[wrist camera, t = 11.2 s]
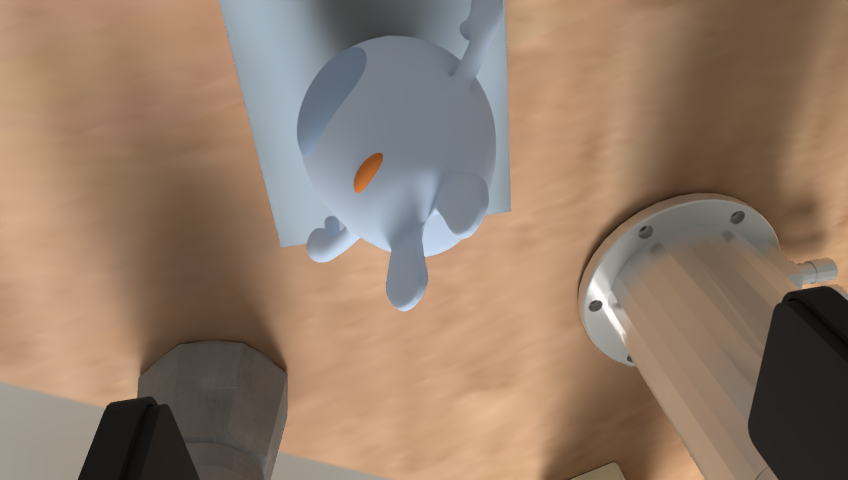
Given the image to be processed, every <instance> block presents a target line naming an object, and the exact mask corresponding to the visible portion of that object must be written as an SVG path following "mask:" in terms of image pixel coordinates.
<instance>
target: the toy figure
mask: <svg viewBox="0 0 848 480" xmlns="http://www.w3.org/2000/svg"><path fill="white" fill-rule="evenodd" d="M502 16H503V0H472V2H471V10H470V13H469V16H468V18H467V20H465V21H463V22H462V23H461V24H460V27H459V30H460V33H461V35H462V36H463V37H464V38H465V39H467V40H469V44H468V47H467V49H466V51H465V54H464V56H463V58H462V60H460V59H458V58H457V57H456V56H455V55H453V54H452V53H450V52H449V51H447V50H446V49H444V48H442V47H440V46H438V45H436V44H434V43H431V42H429V41H426V40H422V39H418V38H414V37H407V36H391V35H389V36H383V37H379V38H374V39H370V40H367V41H364V42H361V43H359V44H356V45H354V46H352V47H350V48H348V49H346V50H344V51H341V52H340V53H338V54H337V55H335V56H334V57H333V58H332V59H330V60H329V61H328V62H327V63H326V64H325V65H324V66H323V67H322V69H321V70H320V71H319V72H318V74H317V75H316V77H315V78H314V79H313V81H312V83H311V84H310V86H309V88H308V90H307V92H306V94H305V96H304V99H303V102H302V105H301V107H300V111H299V116H298V121H297V141H298V146H299V149H300V151H301V154H302V159H303V162H304V166H305V169H306V171H307V174H308V176H309V179H310V181H311V183H312V185H313V186H314V188H315V190H316V192H317V193H318V195H319V196H320V198H321V199H322V201H323V202H324V203H325V204H326V206H327V207H328V208H329V209H330V211H331V212H332V213H333V214H334V215H335V216H336V217H337V218H338V219H339V220H340V221H341V222H342V223H343V224H344V225H345V227H344V228H343V229H342V230H341V231H340V226H339V220H338V219H337V218H336V217H334V216H329V217H327V218H326V219H325V221H324V224H325V229H324V228H317V229H315V230H313V231H312V232H311V234H310V235H309V237H308V240H307V251H308V254H309V256H310V257H311V258H312V259H313V260H314V261H316V262H328V261H330V260H332V259H334V258H335V257H337V256H338V255H340V254H341V253H343V252H344V251H345V250H347V249H348V248H349V247H350V246H352V245H353V244H354V243H355V242H356V241H357V240H358V239H359V238H363V239H364V240H366V241H368V242H369V243H371V244H373V245H375V246H377V247H379V248H381V249H383V250H386V251H388V252H391V256H390V262H389V269H388V274H387V280H386V293H387V296H388V298H389V300H390V302H391V304H392V305H393V306H394V307H396V308H397V309H399V310H401V311H407V310H409V309H411V308H413V307H414V306H415V305H416V304H417V303H418V301H419V300H420V299H421V298H422V296H423V294H424V292H425V290H426V287H427V282H428V272H427V267H426V263H425V258H424V257H426V256H431V255H435V254H438V253H441V252H443V251H446V250H448V249H449V248H451V247H453V246H454V245H456V244H457V243H458V242H459V241H461V240H462V239H465V238H468V237H470V236H471V235H472V234H473V233H474V232H475V231H476V230H477V228H478V227H479V226H480V224H481V223H482V221H483V219H484V217H485V214H486V212H487V209H488V206H489V191H490V188H491V184H492V180H493V176H494V170H495V161H496V131H495V124H494V118H493V114H492V110H491V107H490V104H489V101H488V99H487V96H486V94H485V92H484V90H483V88H482V86H481V85H480V83H479V81H478V80H477V78H476V75H477V73H478V71H479V69H480V67H481V65H482V63H483V61H484V59H485V57H486V54H487V52H488V50H489V48H490V45H491V43H492V41H493V39H494V37H495V35H496V33H497V32H498V30H499V27H500V25H501V21H502Z"/></svg>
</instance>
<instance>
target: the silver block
mask: <svg viewBox="0 0 848 480" xmlns="http://www.w3.org/2000/svg"><path fill="white" fill-rule="evenodd" d="M471 2H472V0H219V3H220V7H221V11H222V15H223V19H224V23H225V27H226V31H227V35H228V39H229V43H230V47H231V51H232V55H233V59H234V63H235V67H236V71H237V75H238V79H239V83H240V87H241V90H242V94H243V98H244V102H245V106H246V110H247V114H248V118H249V122H250V126H251V130H252V134H253V138H254V142H255V146H256V150H257V154H258V158H259V162H260V166H261V170H262V174H263V178H264V182H265V186H266V190H267V194H268V198H269V202H270V206H271V210H272V213H273V217H274V221H275V225H276V229H277V233H278V237H279V241H280V245H281V247H287V246H293V245H300V244H306V243H307V240H308V237H309V235H310V234H311V232H312V231H313V230H315V229H317V228H324V229H325V224H324V221H325V219H326V218H327V217H329V216H334V217H336V216H335V215H334V214H333V213H332V212H331V211H330V209H329V208H328V207H327V206H326V204H325V203H324V202H323V201H322V199H321V198H320V196H319V195H318V193H317V192H316V190H315V188H314V186H313V185H312V183H311V181H310V179H309V176H308V174H307V171H306V169H305V166H304V162H303V159H302V154H301V151H300V149H299V146H298V141H297V121H298V116H299V111H300V107H301V105H302V102H303V99H304V96H305V94H306V92H307V90H308V88H309V86H310V84H311V83H312V81H313V79H314V78H315V77H316V75H317V74H318V72H319V71H320V70H321V69H322V67H323V66H324V65H325V64H326V63H327V62H328V61H329V60H330V59H332V58H333V57H334V56H335V55H337V54H338V53H340V52H341V51H344V50H346V49H348V48H350V47H352V46H354V45H356V44H359V43H361V42H364V41H367V40H370V39H374V38H379V37H383V36H389V35H391V36H407V37H414V38H418V39H422V40H426V41H429V42H431V43H434V44H436V45H438V46H440V47H442V48H444V49H446V50H447V51H449V52H450V53H452V54H453V55H455V56H456V57H457V58H458V59H460V60H462V58H463V56H464V54H465V51H466V49H467V47H468V44H469V40H467V39H465V38H464V37H463V36H462V35H461V33H460V30H459V27H460V24H461V23H462V22H463V21H465V20H467V18H468V16H469V13H470V10H471ZM476 78H477V80H478V81H479V83H480V85H481V86H482V88H483V90H484V92H485V94H486V96H487V99H488V101H489V104H490V107H491V110H492V114H493V118H494V124H495V131H496V161H495V170H494V176H493V180H492V184H491V188H490V191H489V206H488V209H487V212H486V214H485V215H491V214H497V213H504V212H510V211H511V193H510V158H509V122H508V87H507V51H506V16H505V0H503V16H502V21H501V25H500V27H499V30H498V32H497V33H496V35H495V37H494V39H493V41H492V43H491V45H490V48H489V50H488V52H487V54H486V57H485V59H484V61H483V63H482V65H481V67H480V69H479V71H478V73H477V75H476ZM336 218H337V217H336ZM337 219H338V218H337ZM338 220H339V219H338ZM339 226H340V231H341V230H342V229H343V228H344V227H345V225H344V224H343V223H342V222H341V221H340V220H339Z"/></svg>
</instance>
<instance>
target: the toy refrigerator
mask: <svg viewBox="0 0 848 480" xmlns="http://www.w3.org/2000/svg"><path fill="white" fill-rule="evenodd" d="M570 480H625V478H624V476H623V474H622V472H621V469H620V467H619V465H618V464H617V463H615V462H613V463H609V464H607V465H604V466H602V467H600V468H597V469H595V470H592V471H590V472H587V473H585V474H582V475H580V476H577V477H575V478H572V479H570Z"/></svg>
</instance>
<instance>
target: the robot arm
mask: <svg viewBox="0 0 848 480" xmlns="http://www.w3.org/2000/svg"><path fill="white" fill-rule="evenodd" d="M837 272H838V270H837V266H836V264H835V262H834V261H833V260H832V259H830V258H822V259H816V260H810V261H806V262H804V263H799V264H795V263H794V262H793V261H789V260H788V259H787V258H786V257H785V256H784V255H783V254H782V253H781V252H780V246H779V241H778V238H777V236H776V234H775V232H774V229H773V227H772V226H771V225H770V224H769V222H768V221H767V220H766V219H765V218H764V217H763V216H762V215H761V214H760V213H759V212H757V211H756V210H755V209H754V208H752V207H751V206H750V205H749V204H747V203H745V202H743V201H741V200H738V199H736V198H734V197H731V196H726V195H722V194H717V193H694V194H688V195H682V196H676V197H673V198H670V199H667V200H664V201H661V202H658V203H656V204H654V205H652V206H650V207H648V208H646V209H644V210H642V211H640V212H638V213H637V214H635V215H634V216H632V217H631V218H629V219H628V220H627V221H625V222H624V223H622V224H621V225H620V226H619V227H618V228H617V229H616V230H614V231H613V232H612V233H611V234H610V235H609V236H608V237H607V238H606V239H605V240H604V242H603V243H602V244H601V245H600V247H599V248H598V249H597V251H596V252H595V253H594V254H593V256H592V258H591V260H590V262H589V264H588V265H587V267H586V269H585V271H584V274H583V277H582V280H581V284H580V287H579V296H578V308H579V315H580V319H581V322H582V324H583V326H584V329H585V331H586V333H587V334H588V336H589V337H590V339H591V341H592V342H593V344H594V345H595V346H596V347H597V348H598V349H599V350H600V351H601V352H602V353H603V354H604V355H606V356H608V357H609V358H611V359H613V360H614V361H617V362H619V363H622V364H625V365H628V366H634V367H637V369H638V370H639V372H640V374H641V375H642V377H643V378H644V380H645V382H646V383H647V385H648V387H649V388H650V390H651V392H652V393H653V395H654V396H655V398H656V400H657V401H658V403H659V405H660V406H661V408H662V410H663V411H664V413H665V414H666V416H667V418H668V419H669V421H670V423H671V424H672V426H673V427H674V429H675V431H676V432H677V434H678V436H679V437H680V439H681V441H682V442H683V444H684V445H685V447H686V449H687V450H688V452H689V454H690V455H691V457H692V458H693V460H694V462H695V463H696V465H697V467H698V468H699V470H700V472H701V473H702V475H703V476H704V478H705V480H848V295H847V292H846V291H845V290H844V289H843V287H841V286H839V285H837V284H835V285H828V286H821V287H815V288H808V289H802V290H801V288H802V284H807V283H811V284H813V283H819V282H825V281H831V280H835V278H836V277H837ZM78 480H200V478H199V476H198V473H197V471H196V469H195V466H194V464H193V461H192V459H191V457H190V454H189V452H188V450H187V447H186V445H185V442H184V440H183V438H182V435H181V433H180V430H179V428H178V426H177V423H176V421H175V418H174V416H173V414H172V411H171V409H170V407H169V406H168V405H167V404H161V405H158V404H157V402H156V400H155V399H154V398H153V397H149V396H148V397H142V398H136V399H130V400H124V401H117V402H111V403H110V404H109V405H107V407H106V409H105V411H104V413H103V416H102V418H101V421H100V424H99V426H98V429H97V431H96V434H95V436H94V439H93V442H92V444H91V447H90V449H89V452H88V455H87V457H86V460H85V463H84V465H83V468H82V470H81V473H80V475H79V478H78Z"/></svg>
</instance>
